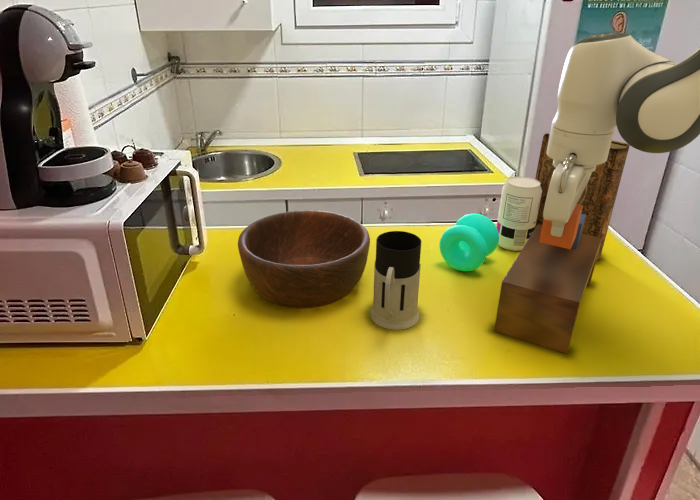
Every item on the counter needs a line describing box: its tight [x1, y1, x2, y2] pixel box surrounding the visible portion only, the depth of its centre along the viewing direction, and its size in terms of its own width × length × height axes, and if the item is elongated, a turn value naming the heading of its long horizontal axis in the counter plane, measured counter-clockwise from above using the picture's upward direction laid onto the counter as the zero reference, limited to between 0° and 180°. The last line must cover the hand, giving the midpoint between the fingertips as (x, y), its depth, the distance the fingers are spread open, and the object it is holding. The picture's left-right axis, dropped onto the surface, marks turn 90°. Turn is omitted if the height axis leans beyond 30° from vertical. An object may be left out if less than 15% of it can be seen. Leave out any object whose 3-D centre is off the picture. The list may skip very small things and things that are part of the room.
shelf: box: [493, 224, 602, 355], centre depth 94 cm, size 12×26×10 cm, turn 150°
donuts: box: [439, 213, 499, 272], centre depth 108 cm, size 10×10×10 cm
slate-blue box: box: [571, 214, 586, 249], centre depth 97 cm, size 5×5×5 cm
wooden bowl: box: [237, 209, 371, 309], centre depth 101 cm, size 25×25×10 cm
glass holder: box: [369, 230, 422, 331], centre depth 87 cm, size 9×14×15 cm, turn 166°
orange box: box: [539, 204, 583, 249], centre depth 86 cm, size 5×5×6 cm
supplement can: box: [496, 175, 542, 252], centre depth 115 cm, size 8×8×15 cm
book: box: [534, 132, 630, 263], centre depth 112 cm, size 16×6×25 cm, turn 41°
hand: (560, 227), depth 86 cm, fingers closed on orange box, 5 cm apart
